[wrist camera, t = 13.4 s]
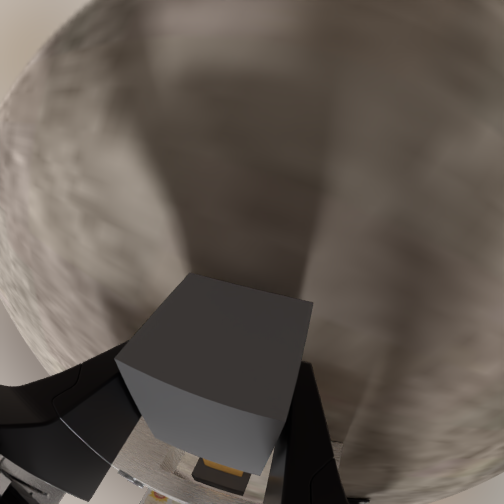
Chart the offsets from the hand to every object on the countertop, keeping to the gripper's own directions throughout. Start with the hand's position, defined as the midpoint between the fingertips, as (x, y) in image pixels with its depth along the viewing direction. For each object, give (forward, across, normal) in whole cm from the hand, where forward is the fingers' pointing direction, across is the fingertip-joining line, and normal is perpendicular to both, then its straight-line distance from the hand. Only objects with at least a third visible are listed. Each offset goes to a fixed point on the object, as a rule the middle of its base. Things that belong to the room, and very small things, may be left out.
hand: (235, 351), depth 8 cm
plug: (+1, 0, +6) cm, 6 cm away
